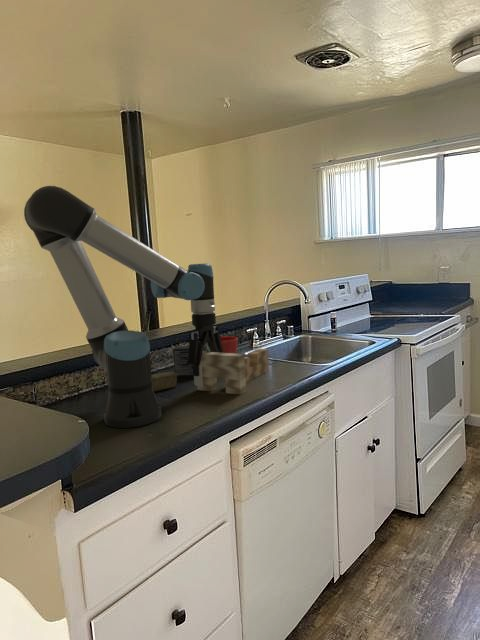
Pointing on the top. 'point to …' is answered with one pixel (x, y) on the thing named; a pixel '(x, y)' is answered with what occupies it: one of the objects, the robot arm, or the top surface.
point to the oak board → (256, 363)
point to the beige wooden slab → (223, 371)
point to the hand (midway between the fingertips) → (207, 381)
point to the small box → (182, 362)
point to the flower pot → (229, 344)
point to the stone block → (164, 381)
